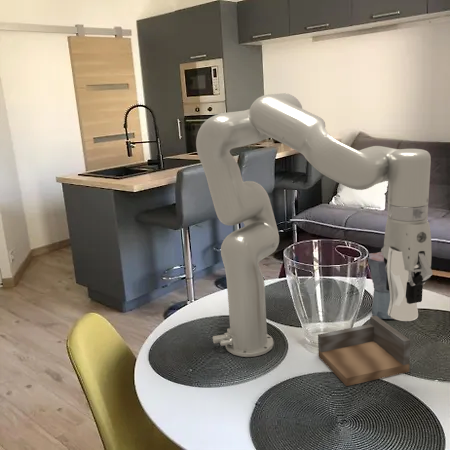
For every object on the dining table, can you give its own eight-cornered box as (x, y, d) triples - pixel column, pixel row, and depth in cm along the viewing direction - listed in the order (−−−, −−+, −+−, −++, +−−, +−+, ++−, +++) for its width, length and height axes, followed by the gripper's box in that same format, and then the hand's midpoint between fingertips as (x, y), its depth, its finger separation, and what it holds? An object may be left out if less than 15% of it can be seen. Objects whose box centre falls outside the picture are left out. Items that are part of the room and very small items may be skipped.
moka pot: (369, 302, 155) (369, 239, 149) (421, 312, 146) (423, 246, 140) (357, 314, 147) (357, 249, 142) (411, 326, 138) (413, 256, 133)
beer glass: (423, 323, 103) (427, 252, 99) (387, 321, 104) (389, 252, 100) (417, 308, 110) (421, 242, 106) (383, 307, 111) (386, 241, 107)
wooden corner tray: (346, 386, 113) (346, 353, 111) (318, 356, 126) (317, 327, 124) (409, 371, 117) (410, 340, 115) (375, 344, 130) (376, 315, 128)
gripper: (453, 220, 94) (447, 309, 99) (398, 201, 110) (394, 278, 115) (418, 225, 92) (413, 315, 97) (367, 205, 108) (365, 283, 113)
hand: (403, 295), depth 106 cm, fingers closed on beer glass, 6 cm apart
